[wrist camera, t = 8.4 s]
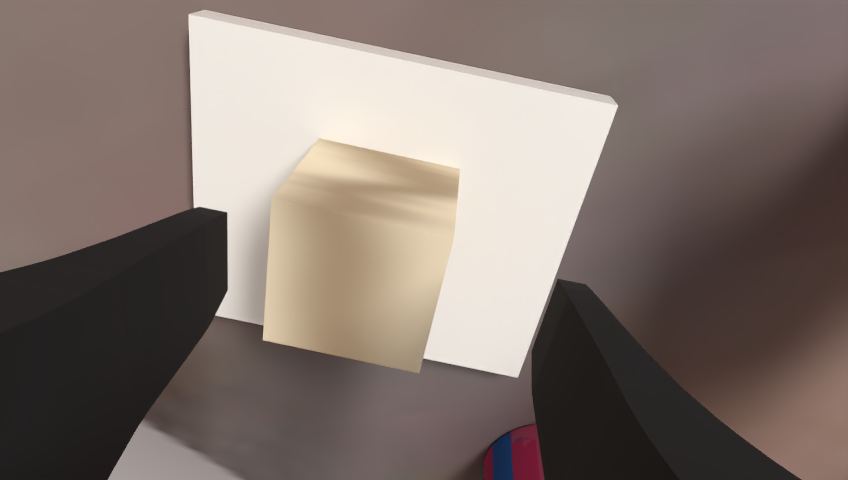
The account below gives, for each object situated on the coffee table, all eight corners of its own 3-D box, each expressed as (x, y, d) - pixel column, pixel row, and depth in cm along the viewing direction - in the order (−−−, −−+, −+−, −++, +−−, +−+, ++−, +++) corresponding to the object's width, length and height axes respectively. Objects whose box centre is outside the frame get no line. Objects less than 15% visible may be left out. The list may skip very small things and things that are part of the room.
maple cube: (459, 168, 19) (454, 237, 15) (431, 284, 21) (419, 373, 17) (319, 138, 19) (271, 198, 15) (307, 258, 21) (262, 340, 17)
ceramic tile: (610, 96, 19) (618, 105, 17) (516, 358, 24) (517, 377, 23) (205, 9, 18) (188, 14, 17) (208, 295, 24) (196, 311, 23)
